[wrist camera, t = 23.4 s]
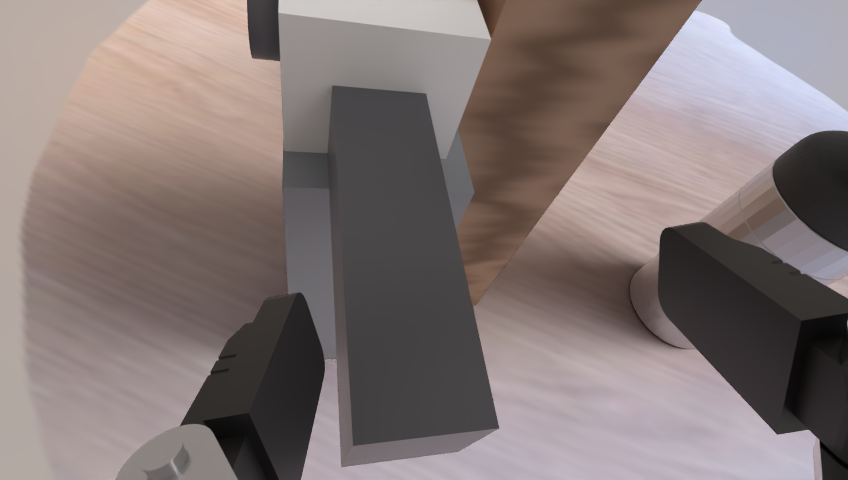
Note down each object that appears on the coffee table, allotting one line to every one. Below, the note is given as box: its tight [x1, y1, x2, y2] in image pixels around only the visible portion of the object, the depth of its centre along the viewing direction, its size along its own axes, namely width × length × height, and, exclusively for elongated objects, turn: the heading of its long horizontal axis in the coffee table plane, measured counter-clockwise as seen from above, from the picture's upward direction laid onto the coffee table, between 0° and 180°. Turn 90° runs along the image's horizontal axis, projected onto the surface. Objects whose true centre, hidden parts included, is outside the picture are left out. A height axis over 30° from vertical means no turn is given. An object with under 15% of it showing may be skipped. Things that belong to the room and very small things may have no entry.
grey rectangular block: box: [282, 129, 474, 359], centre depth 30 cm, size 8×10×21 cm
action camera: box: [247, 0, 499, 467], centre depth 16 cm, size 9×20×6 cm, turn 8°
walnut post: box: [456, 0, 702, 305], centre depth 30 cm, size 8×10×32 cm
